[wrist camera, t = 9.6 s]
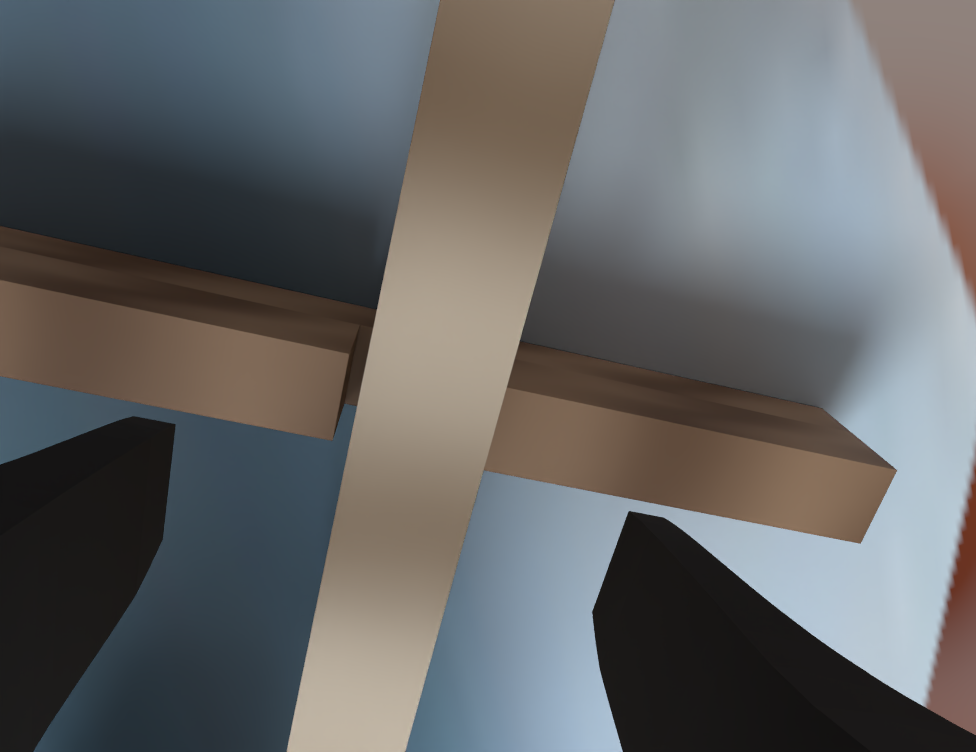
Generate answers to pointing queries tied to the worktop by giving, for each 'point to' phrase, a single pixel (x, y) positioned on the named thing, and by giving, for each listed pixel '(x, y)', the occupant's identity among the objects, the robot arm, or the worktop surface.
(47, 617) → the robot arm
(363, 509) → the cross piece
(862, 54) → the worktop surface
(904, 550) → the worktop surface
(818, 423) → the walnut stand
